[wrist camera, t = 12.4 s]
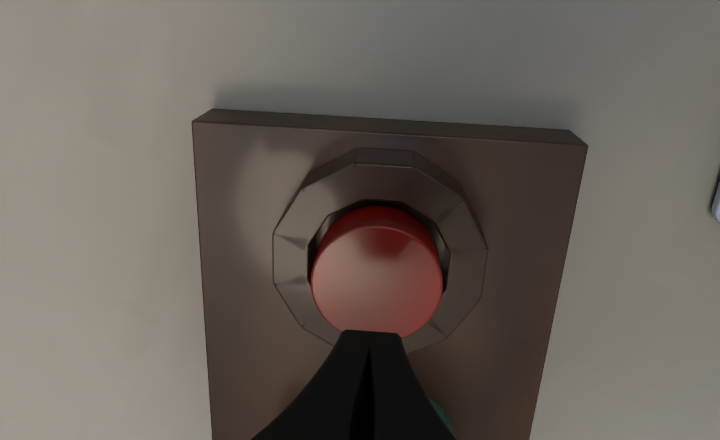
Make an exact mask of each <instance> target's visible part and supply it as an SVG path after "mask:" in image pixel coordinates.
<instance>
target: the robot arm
mask: <svg viewBox="0 0 720 440" xmlns="http://www.w3.org/2000/svg"><path fill="white" fill-rule="evenodd" d="M711 213H712V215H713V217H714V218H715V219H716V220H717V221H719V222H720V182H719V185H718V189H717V192H716V195H715V199H714V202H713V205H712V211H711ZM251 440H457V439H456V438H455V437H454V435H453V434H452V433H451V432H450V430H449V429H448V428H447V426H446V425H445V423H444V422H443V420H442V419H441V418H440V416H439V415H438V413H437V411H436V410H435V408H434V407H433V405H432V404H431V402H430V400H429V399H428V397H427V395H426V394H425V392H424V390H423V388H422V386H421V384H420V382H419V381H418V379H417V377H416V375H415V373H414V371H413V369H412V366H411V364H410V362H409V359H408V357H407V355H406V352H405V349H404V346H403V343H402V338H401V337H400V336H399V335H398V333H389V332H376V331H363V330H350V329H345V330H344V331H343V332H341V334H340V336H339V338H338V340H337V342H336V344H335V346H334V347H333V349H332V351H331V352H330V354H329V355H328V357H327V358H326V360H325V361H324V363H323V364H322V365H321V367H320V368H319V369H318V371H317V372H316V373H315V375H314V376H313V377H312V379H311V380H310V381H309V382H308V384H307V385H306V386H305V387H304V388H303V389H302V391H301V392H300V393H299V394H298V395H297V396H296V398H295V399H294V400H293V401H292V402H291V403H290V404H289V405H288V406H287V407H286V408H285V409H284V410H283V411H282V412H281V413H280V414H279V415H278V416H277V417H276V418H275V419H274V420H273V421H272V422H271V423H270V424H268V425H267V426H266V427H265V428H264V429H263V430H261V431H260V432H259V433H258V434H257V435H255V436H254V437H253V438H252V439H251Z"/></svg>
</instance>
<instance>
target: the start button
mask: <svg viewBox="0 0 720 440" xmlns="http://www.w3.org/2000/svg"><path fill="white" fill-rule="evenodd" d="M311 291H312V296H313V299H314V302H315V304H316V306H317V308H318V310H319V311H320V313H321V314H322V316H323V317H324V318H325V319H326V320H327V322H328V323H329V324H331V325H332V326H333V327H334V328H335V329H337V330H338V331H340V332H343V331H344V330H345V329H350V330H363V331H376V332H389V333H398V335H399V336H400V337H401V338H405V337H407V336H409V335H411V334H413V333H415V332H416V331H418V330H419V329H420V328H422V327H423V326H424V325H425V324H426V323H427V322H428V321H429V320H430V319H431V318H432V316H433V315H434V313H435V312H436V310H437V308H438V306H439V303H440V300H441V297H442V292H443V278H442V271H441V264H440V257H439V252H438V248H437V244H436V242H435V240H434V238H433V236H432V234H431V233H430V231H429V230H428V229H427V227H426V226H425V225H424V224H423V223H422V222H421V221H420V220H418V219H417V218H415V217H414V216H413V215H411V214H409V213H407V212H405V211H403V210H400V209H397V208H393V207H389V206H366V207H362V208H358V209H355V210H352V211H350V212H348V213H346V214H344V215H343V216H341V217H340V218H338V219H337V220H336V221H335V222H334V223H333V224H332V225H331V226H330V227H329V228H328V230H327V231H326V233H325V234H324V236H323V238H322V241H321V243H320V246H319V249H318V252H317V255H316V258H315V261H314V265H313V268H312V272H311Z"/></svg>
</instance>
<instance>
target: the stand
mask: <svg viewBox="0 0 720 440" xmlns="http://www.w3.org/2000/svg"><path fill="white" fill-rule="evenodd" d="M192 135H193V151H194V166H195V182H196V197H197V212H198V228H199V243H200V258H201V274H202V289H203V304H204V320H205V335H206V350H207V366H208V381H209V397H210V412H211V427H212V440H251V439H252V438H253V437H254V436H255V435H257V434H258V433H259V432H260V431H261V430H263V429H264V428H265V427H266V426H267V425H268V424H270V423H271V422H272V421H273V420H274V419H275V418H276V417H277V416H278V415H279V414H280V413H281V412H282V411H283V410H284V409H285V408H286V407H287V406H288V405H289V404H290V403H291V402H292V401H293V400H294V399H295V398H296V396H297V395H298V394H299V393H300V392H301V391H302V389H303V388H304V387H305V386H306V385H307V384H308V382H309V381H310V380H311V379H312V377H313V376H314V375H315V373H316V372H317V371H318V369H319V368H320V367H321V365H322V364H323V363H324V361H325V360H326V358H327V357H328V355H329V354H330V352H331V351H332V349H333V347H334V346H335V344H336V342H337V340H338V338H339V336H340V334H341V332H340V331H338V330H337V329H335V328H334V327H333V326H332V325H331V324H329V323H328V322H327V320H326V319H325V318H324V317H323V316H322V314H321V313H320V311H319V310H318V308H317V306H316V304H315V302H314V299H313V296H312V291H311V272H312V268H313V265H314V261H315V258H316V255H317V252H318V249H319V246H320V243H321V241H322V238H323V236H324V234H325V233H326V231H327V230H328V228H329V227H330V226H331V225H332V224H333V223H334V222H335V221H336V220H337V219H338V218H340V217H341V216H343V215H344V214H346V213H348V212H350V211H352V210H355V209H358V208H362V207H366V206H389V207H393V208H397V209H400V210H403V211H405V212H407V213H409V214H411V215H413V216H414V217H415V218H417V219H418V220H420V221H421V222H422V223H423V224H424V225H425V226H426V227H427V229H428V230H429V231H430V233H431V234H432V236H433V238H434V240H435V242H436V244H437V248H438V252H439V257H440V264H441V271H442V278H443V292H442V297H441V300H440V303H439V306H438V308H437V310H436V312H435V313H434V315H433V316H432V318H431V319H430V320H429V321H428V322H427V323H426V324H425V325H424V326H423V327H422V328H420V329H419V330H418V331H416V332H415V333H413V334H411V335H409V336H407V337H405V338H402V343H403V346H404V349H405V352H406V355H407V357H408V359H409V362H410V364H411V366H412V369H413V371H414V373H415V375H416V377H417V379H418V381H419V382H420V384H421V386H422V388H423V390H424V392H425V394H426V395H427V396H429V397H430V398H432V399H433V400H434V401H436V402H437V403H438V404H439V405H440V406H441V407H442V408H443V409H444V411H445V412H446V413H447V415H448V416H449V418H450V420H451V422H452V425H453V429H454V435H455V437H456V439H457V440H529V437H530V432H531V427H532V422H533V417H534V412H535V407H536V402H537V397H538V392H539V387H540V382H541V378H542V373H543V368H544V363H545V358H546V353H547V348H548V343H549V338H550V333H551V328H552V323H553V318H554V313H555V308H556V303H557V298H558V293H559V288H560V283H561V278H562V273H563V268H564V263H565V258H566V253H567V248H568V243H569V238H570V234H571V229H572V224H573V219H574V214H575V209H576V204H577V199H578V194H579V189H580V184H581V179H582V174H583V169H584V164H585V159H586V154H587V149H588V145H587V144H586V143H585V142H583V141H582V140H581V139H580V138H578V137H577V136H576V135H575V134H573V133H572V132H571V131H570V130H560V129H543V128H526V127H509V126H493V125H476V124H459V123H442V122H425V121H409V120H392V119H375V118H358V117H341V116H325V115H308V114H291V113H274V112H257V111H240V110H224V109H211V110H209V111H208V112H206V113H204V114H203V115H201V116H199V117H198V118H196V119H195V120H193V121H192Z"/></svg>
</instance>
